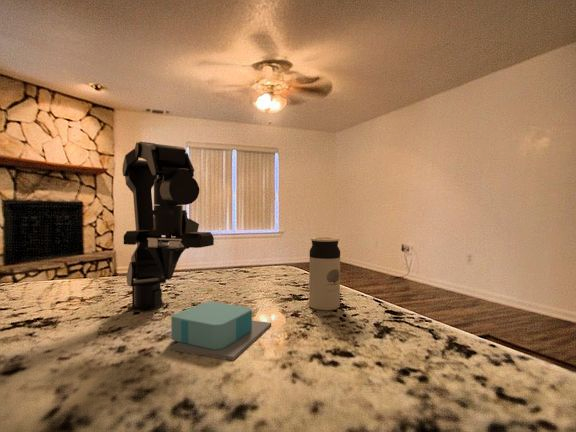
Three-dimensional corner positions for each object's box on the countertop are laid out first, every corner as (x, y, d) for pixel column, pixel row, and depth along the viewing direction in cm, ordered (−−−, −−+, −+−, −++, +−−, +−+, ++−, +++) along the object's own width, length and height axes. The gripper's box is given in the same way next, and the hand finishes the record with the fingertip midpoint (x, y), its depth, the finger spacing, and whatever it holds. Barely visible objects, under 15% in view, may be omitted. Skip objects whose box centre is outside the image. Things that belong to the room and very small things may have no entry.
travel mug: (304, 303, 91) (305, 237, 91) (331, 301, 94) (332, 236, 93) (316, 312, 84) (316, 239, 83) (345, 309, 86) (345, 239, 86)
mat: (170, 350, 61) (170, 346, 61) (220, 319, 78) (220, 316, 78) (233, 360, 57) (233, 356, 57) (271, 325, 74) (271, 322, 74)
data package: (167, 339, 64) (218, 351, 59) (167, 316, 64) (219, 326, 59) (208, 321, 75) (254, 329, 70) (208, 300, 75) (255, 308, 70)
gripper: (226, 205, 76) (226, 275, 76) (157, 205, 82) (157, 270, 82) (198, 205, 65) (198, 285, 66) (121, 205, 71) (121, 279, 71)
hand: (168, 279), depth 71 cm, fingers closed
